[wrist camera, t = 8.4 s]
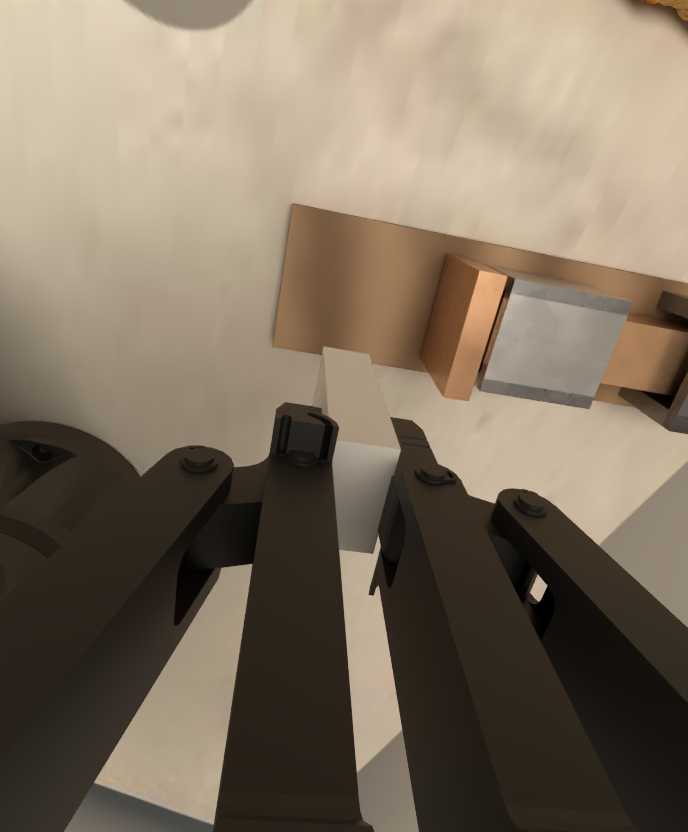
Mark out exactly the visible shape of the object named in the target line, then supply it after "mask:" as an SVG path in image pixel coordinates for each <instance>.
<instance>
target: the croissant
mask: <svg viewBox="0 0 688 832" xmlns="http://www.w3.org/2000/svg"><path fill="white" fill-rule="evenodd" d="M643 1H645V2H647V3H649V4H651V5H652V4H656V3H658V2H659V3H661V4H662V5H664V6H672V7H673V8H676V9H677V12H678V15H679V16H680V17H681V18H682V19H684V20H686V21H688V0H643Z"/></svg>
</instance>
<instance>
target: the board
mask: <svg viewBox="0 0 688 832" xmlns="http://www.w3.org/2000/svg"><path fill="white" fill-rule="evenodd" d="M447 253H449V254H454V255H459V256H464V257H469V258H472V259H474V260H476V261H478V262H480V263H482V264H483V263H484V264H489V265H494V266H499V267H505V268H510V269H515V270H520V271H525V272H530V273H535V274H540V275H545V276H550V277H555V278H560V279H565V280H570V281H575V282H580V283H585V284H588V285H590V286H593V287H595V288H598V289H601V290H603V291H606V292H609V293H611V294H614V295H617V296H619V297H622V298H625V299H627V300H630V301H633V304H632V307H631V309H630V312H629V313H630V314H636V315H641V316H646V317H651V318H656V319H662V320H667V321H672V322H677V323H683V324H688V319H687V318H685V317H682V316H679V315H677V314H674V313H671V312H668V311H666V310H663V309H660V308H658V307H656V306H657V303H658V301H659V299H660V296H661V294H662V292H663V291H667V292H672V293H677V294H682V295H687V296H688V283H683V282H678V281H673V280H668V279H663V278H658V277H653V276H648V275H643V274H638V273H634V272H629V271H624V270H619V269H614V268H609V267H604V266H599V265H594V264H589V263H584V262H579V261H574V260H569V259H565V258H560V257H555V256H550V255H545V254H540V253H535V252H530V251H525V250H520V249H515V248H510V247H505V246H500V245H496V244H491V243H486V242H481V241H476V240H471V239H466V238H461V237H456V236H451V235H446V234H441V233H436V232H431V231H426V230H422V229H417V228H412V227H407V226H402V225H397V224H392V223H387V222H382V221H377V220H372V219H367V218H362V217H357V216H353V215H348V214H343V213H338V212H333V211H328V210H323V209H318V208H313V207H308V206H303V205H298V204H293V206H292V213H291V220H290V227H289V234H288V241H287V248H286V255H285V262H284V269H283V277H282V284H281V291H280V298H279V305H278V312H277V319H276V326H275V333H274V340H273V347H278V348H284V349H290V350H296V351H302V352H308V353H314V354H320V355H322V352H323V346H324V347H330V348H336V349H342V350H347V351H353V352H359V353H365V354H369V355H370V358H371V361H372V363H374V364H380V365H386V366H392V367H398V368H404V369H409V370H415V371H421V372H427V373H428V371H427V369H426V368H425V366H424V364H423V363H422V361H421V359H420V356H421V352H422V348H423V344H424V340H425V337H426V333H427V329H428V325H429V321H430V317H431V314H432V310H433V306H434V302H435V298H436V294H437V291H438V287H439V283H440V279H441V275H442V271H443V268H444V264H445V260H446V256H447ZM620 389H621V387H620V386H614V385H608V384H602V383H600V384H599V387H598V389H597V391H596V394H595V396H594V399H593V400H595V401H601V402H607V403H613V404H619V405H625V406H631V407H634V406H633V405H632V404H630V403H629V402H627V401H626V400H624V399H623V398H622V397H620V396H619V395H618V394H619V391H620Z"/></svg>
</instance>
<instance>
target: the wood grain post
mask: <svg viewBox="0 0 688 832" xmlns="http://www.w3.org/2000/svg"><path fill="white" fill-rule="evenodd" d="M506 280H507V276H506V275H504V274H502V273H500V272H498V271H496V270H494V269H492V268H490V267H488V266H486V265H484V264H482V263H480V262H478V261H476V260H474V259H472V258H469V257H464V256H459V255H454V254H449V253H447V256H446V260H445V264H444V268H443V271H442V275H441V279H440V283H439V287H438V291H437V294H436V298H435V302H434V306H433V310H432V314H431V317H430V321H429V325H428V329H427V333H426V337H425V340H424V344H423V348H422V352H421V356H420V359H421V361H422V363H423V364H424V366H425V368H426V369H427V371H428V373H429V374H430V376H431V378H432V379H433V381H434V383H435V384H436V386H437V388H438V389H439V391H440V393H441V394H442V396H443V397H446V398H452V399H458V400H464V401H469V399H470V396H471V392H472V389H473V386H474V383H475V379H476V376H477V373H478V370H479V367H480V363H483V362H484V359H485V356H486V353H487V350H488V346H489V343H490V340H491V337H492V334H493V330H494V327H495V324H496V321H497V318H498V314H499V311H500V308H501V305H502V302H503V298H504V295H505V292H506V291H505V290H504V286H505V283H506ZM687 372H688V324H683V323H677V322H672V321H667V320H662V319H656V318H651V317H646V316H641V315H636V314H630V313H629V314H628V317H627V319H626V321H625V324H624V326H623V329H622V331H621V333H620V336H619V338H618V341H617V343H616V346H615V348H614V350H613V353H612V355H611V358H610V360H609V362H608V365H607V367H606V370H605V372H604V375H603V377H602V379H601V382H600V383H602V384H608V385H614V386H620V387H625V388H631V389H637V390H643V391H649V392H654V393H660V394H666V395H672V396H676V394H677V392H678V390H679V388H680V386H681V384H682V382H683V380H684V378H685V376H686V374H687Z"/></svg>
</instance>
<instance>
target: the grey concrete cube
mask: <svg viewBox="0 0 688 832" xmlns="http://www.w3.org/2000/svg"><path fill="white" fill-rule="evenodd" d="M483 264H484V263H483ZM484 265H486V266H488V267H490V268H492V269H494V270H496V271H498V272H500V273H502V274H504V275H506V276H507V280H506V283H505V286H504V290H505V291H506V292H505V295H504V298H503V302H502V305H501V308H500V311H499V314H498V318H497V321H496V324H495V327H494V330H493V334H492V337H491V340H490V343H489V346H488V350H487V353H486V356H485V359H484V362H483V363H480V367H479V370H478V373H477V376H476V379H475V383H474V384H475V386H476V387H477V388H478V389H479V391H482V392H488V393H494V394H501V395H507V396H513V397H519V398H525V399H531V400H537V401H543V402H549V403H555V404H561V405H567V406H573V407H580V408H586V409H589V408H590V406H591V404H592V401H593V399H594V396H595V394H596V391H597V389H598V387H599V384H600V382H601V379H602V377H603V375H604V372H605V370H606V367H607V365H608V362H609V360H610V358H611V355H612V353H613V350H614V348H615V346H616V343H617V341H618V338H619V336H620V333H621V331H622V329H623V326H624V324H625V321H626V319H627V317H628V314H629V312H630V309H631V307H632V304H633V301H630V300H627V299H625V298H622V297H619V296H617V295H614V294H611V293H609V292H606V291H603V290H601V289H598V288H595V287H593V286H590V285H588V284H585V283H580V282H575V281H570V280H565V279H560V278H555V277H550V276H545V275H540V274H535V273H530V272H525V271H520V270H515V269H510V268H505V267H499V266H494V265H489V264H484Z"/></svg>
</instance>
